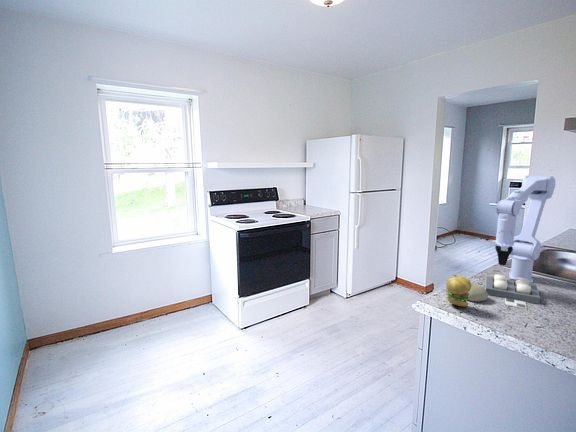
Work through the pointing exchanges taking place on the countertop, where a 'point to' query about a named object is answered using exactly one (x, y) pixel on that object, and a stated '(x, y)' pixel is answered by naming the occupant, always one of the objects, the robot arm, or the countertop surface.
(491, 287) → the board
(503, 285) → the button
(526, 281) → the button
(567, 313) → the countertop surface
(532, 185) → the robot arm
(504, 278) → the button
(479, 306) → the countertop surface
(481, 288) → the sea urchin shell
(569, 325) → the countertop surface
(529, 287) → the button
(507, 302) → the tile
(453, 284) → the hamburger
